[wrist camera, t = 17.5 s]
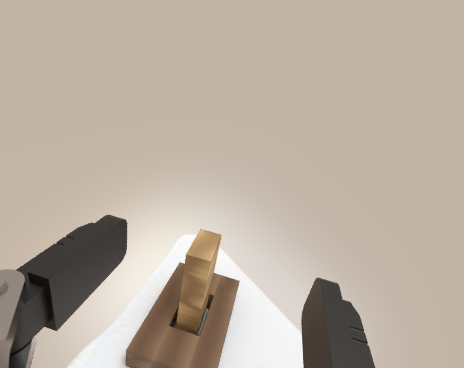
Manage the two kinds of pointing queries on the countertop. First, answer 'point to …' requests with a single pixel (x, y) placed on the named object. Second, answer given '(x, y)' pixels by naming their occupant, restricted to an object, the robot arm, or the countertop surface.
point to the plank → (197, 281)
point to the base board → (180, 342)
